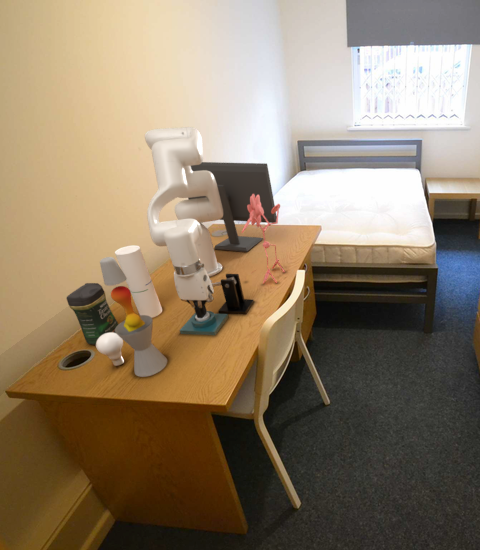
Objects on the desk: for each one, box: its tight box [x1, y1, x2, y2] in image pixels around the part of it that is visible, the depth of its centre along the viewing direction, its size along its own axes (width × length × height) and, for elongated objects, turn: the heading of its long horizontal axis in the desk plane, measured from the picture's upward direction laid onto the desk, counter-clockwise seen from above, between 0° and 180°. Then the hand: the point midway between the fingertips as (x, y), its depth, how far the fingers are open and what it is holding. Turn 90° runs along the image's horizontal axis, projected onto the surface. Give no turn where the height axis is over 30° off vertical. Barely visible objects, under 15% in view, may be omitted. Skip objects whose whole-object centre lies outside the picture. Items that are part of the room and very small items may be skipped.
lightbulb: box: [95, 332, 125, 367], centre depth 105 cm, size 6×6×11 cm
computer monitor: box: [187, 161, 279, 253], centre depth 172 cm, size 44×16×40 cm, turn 77°
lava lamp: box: [99, 256, 168, 378], centre depth 98 cm, size 9×9×35 cm
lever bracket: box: [217, 273, 255, 316], centre depth 129 cm, size 10×8×13 cm
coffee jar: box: [66, 282, 119, 346], centre depth 115 cm, size 10×8×19 cm
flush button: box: [195, 312, 210, 322], centre depth 122 cm, size 4×4×2 cm
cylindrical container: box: [114, 244, 163, 319], centre depth 125 cm, size 7×7×25 cm
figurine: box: [241, 194, 286, 285], centre depth 144 cm, size 15×26×35 cm, turn 171°
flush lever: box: [210, 277, 237, 288], centre depth 128 cm, size 12×7×2 cm, turn 85°
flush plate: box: [179, 310, 229, 336], centre depth 122 cm, size 12×10×4 cm
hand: (202, 315), depth 121 cm, fingers closed
